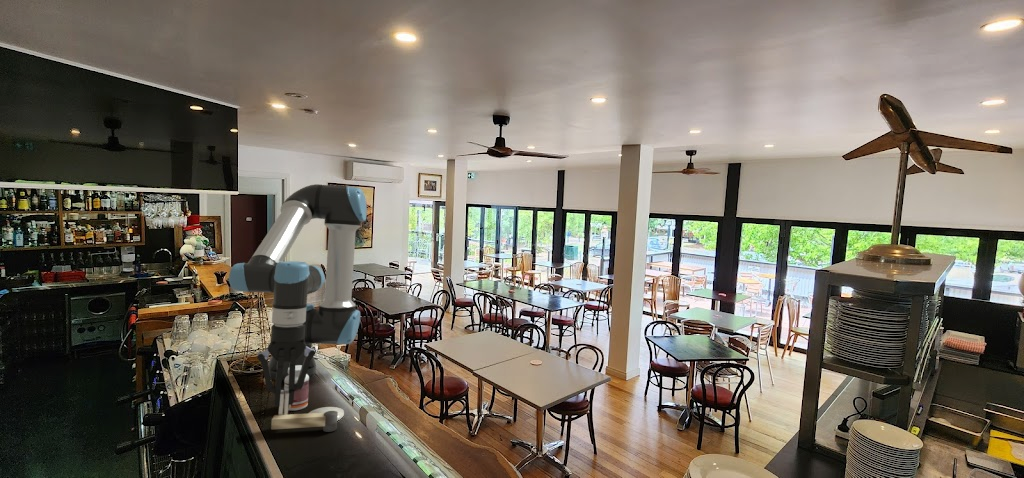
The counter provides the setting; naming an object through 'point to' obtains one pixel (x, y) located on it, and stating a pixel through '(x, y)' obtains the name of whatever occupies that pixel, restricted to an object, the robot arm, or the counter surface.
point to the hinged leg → (306, 421)
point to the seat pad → (326, 409)
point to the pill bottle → (298, 391)
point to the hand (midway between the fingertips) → (282, 417)
